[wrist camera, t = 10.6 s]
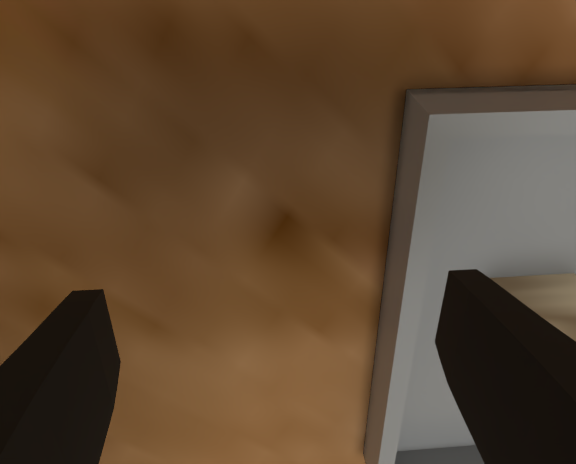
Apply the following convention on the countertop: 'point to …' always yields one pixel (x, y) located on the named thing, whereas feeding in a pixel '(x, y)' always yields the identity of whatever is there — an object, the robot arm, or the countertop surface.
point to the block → (547, 297)
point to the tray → (464, 243)
